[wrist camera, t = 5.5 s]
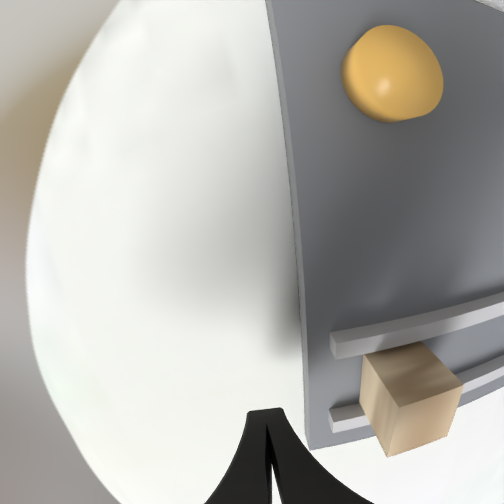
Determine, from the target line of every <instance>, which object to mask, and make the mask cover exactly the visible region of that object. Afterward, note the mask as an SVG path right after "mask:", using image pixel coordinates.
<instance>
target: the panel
mask: <svg viewBox="0 0 504 504" xmlns="http://www.w3.org/2000/svg"><path fill="white" fill-rule="evenodd" d="M265 2H266V8H267V14H268V20H269V26H270V33H271V39H272V46H273V53H274V59H275V66H276V73H277V81H278V88H279V96H280V103H281V111H282V119H283V128H284V136H285V145H286V154H287V163H288V172H289V182H290V192H291V202H292V213H293V224H294V236H295V248H296V261H297V274H298V288H299V303H300V320H301V338H302V358H303V382H304V413H305V435H306V439H307V443H308V447H309V450H315V449H320V448H325V447H330V446H335V445H340V444H344V443H349V442H353V441H357V440H361V439H365V438H369V437H373V436H376V434H375V432H374V430H373V428H372V426H371V424H370V422H369V420H368V418H367V416H366V414H365V412H364V410H363V408H362V406H361V404H360V402H359V398H360V388H361V376H362V362H363V354H367V353H372V352H376V351H381V350H385V349H389V348H393V347H398V346H402V345H406V344H410V343H414V342H417V341H422V342H423V343H424V344H425V345H426V346H427V347H428V348H429V349H430V350H431V351H432V352H433V353H434V354H435V355H436V356H437V357H438V358H439V359H440V360H441V361H442V363H443V364H444V365H445V366H446V367H447V368H448V369H449V370H450V371H451V372H452V373H453V374H454V375H455V376H456V377H457V378H458V379H459V380H460V381H461V382H462V383H463V384H464V387H463V390H462V393H461V397H460V400H459V403H458V406H457V408H458V407H460V406H463V405H465V404H467V403H470V402H472V401H474V400H476V399H479V398H481V397H483V396H485V395H487V394H489V393H491V392H493V391H495V390H497V389H499V388H501V387H503V386H504V13H503V12H501V11H498V10H496V9H494V8H492V7H489V6H487V5H485V4H482V3H480V2H477V1H475V0H265ZM381 25H394V26H398V27H401V28H404V29H407V30H409V31H411V32H412V33H414V34H415V35H417V36H418V37H419V38H421V39H422V40H423V41H424V42H425V43H426V44H427V45H428V46H429V48H430V49H431V50H432V52H433V53H434V55H435V56H436V58H437V60H438V62H439V65H440V67H441V71H442V75H443V93H442V97H441V99H440V101H439V103H438V105H437V106H436V107H435V108H434V109H433V110H432V111H431V112H429V113H428V114H425V115H423V116H419V117H415V118H411V119H407V120H403V121H400V122H395V123H385V122H380V121H377V120H374V119H372V118H370V117H368V116H367V115H365V114H364V113H362V112H361V111H360V110H359V109H358V108H357V107H356V106H355V105H354V104H353V103H352V102H351V100H350V99H349V97H348V96H347V94H346V92H345V90H344V87H343V84H342V80H341V65H342V61H343V58H344V56H345V54H346V53H347V52H348V50H349V49H350V48H351V47H352V46H353V45H354V44H355V43H356V42H357V41H358V40H359V39H360V38H361V37H362V36H363V35H364V34H365V33H366V32H368V31H369V30H370V29H372V28H374V27H377V26H381Z"/></svg>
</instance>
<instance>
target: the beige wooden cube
mask: <svg viewBox="0 0 504 504" xmlns="http://www.w3.org/2000/svg"><path fill="white" fill-rule="evenodd" d="M463 387H464V384H463V383H462V382H461V381H460V380H459V379H458V378H457V377H456V376H455V375H454V374H453V373H452V372H451V371H450V370H449V369H448V368H447V367H446V366H445V365H444V364H443V363H442V361H441V360H440V359H439V358H438V357H437V356H436V355H435V354H434V353H433V352H432V351H431V350H430V349H429V348H428V347H427V346H426V345H425V344H424V343H423V342H422V341H417V342H414V343H410V344H406V345H402V346H398V347H393V348H389V349H385V350H381V351H376V352H372V353H367V354H363V362H362V376H361V388H360V398H359V402H360V404H361V406H362V408H363V410H364V412H365V414H366V416H367V418H368V420H369V422H370V424H371V426H372V428H373V430H374V432H375V434H376V436H377V438H378V440H379V442H380V444H381V446H382V448H383V451H384V453H385V455H386V457H390V456H394V455H397V454H400V453H403V452H406V451H409V450H412V449H415V448H417V447H420V446H423V445H425V444H428V443H431V442H433V441H436V440H438V439H441V438H443V437H446V436H447V434H448V432H449V429H450V426H451V423H452V421H453V418H454V415H455V412H456V409H457V406H458V403H459V400H460V397H461V393H462V390H463Z"/></svg>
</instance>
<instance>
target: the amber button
mask: <svg viewBox="0 0 504 504" xmlns="http://www.w3.org/2000/svg"><path fill="white" fill-rule="evenodd" d="M341 80H342V84H343V87H344V90H345V92H346V94H347V96H348V97H349V99H350V100H351V102H352V103H353V104H354V105H355V106H356V107H357V108H358V109H359V110H360V111H361V112H362V113H364V114H365V115H367V116H368V117H370V118H372V119H374V120H377V121H380V122H385V123H395V122H400V121H403V120H407V119H411V118H415V117H419V116H423V115H425V114H428V113H429V112H431V111H432V110H433V109H434V108H435V107H436V106H437V105H438V103H439V101H440V99H441V97H442V93H443V75H442V71H441V67H440V65H439V62H438V60H437V58H436V56H435V55H434V53H433V52H432V50H431V49H430V48H429V46H428V45H427V44H426V43H425V42H424V41H423V40H422V39H421V38H419V37H418V36H417V35H415V34H414V33H412V32H411V31H409V30H407V29H404V28H401V27H398V26H394V25H381V26H377V27H374V28H372V29H370V30H369V31H368V32H366V33H365V34H364V35H363V36H362V37H361V38H360V39H359V40H358V41H357V42H356V43H355V44H354V45H353V46H352V47H351V48H350V49H349V50H348V52H347V53H346V54H345V56H344V58H343V61H342V65H341Z"/></svg>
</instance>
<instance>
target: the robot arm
mask: <svg viewBox="0 0 504 504" xmlns="http://www.w3.org/2000/svg"><path fill="white" fill-rule="evenodd" d="M272 466H273V470H274V474H275V478H276V483H277V487H278V490H279V494H280V498H281V502H282V504H374V503H372V502H370V501H368V500H366V499H365V498H363V497H361V496H360V495H358V494H357V493H355V492H353V491H352V490H351V489H349V488H348V487H347V486H345V485H344V484H343V483H341V482H340V481H339V480H337V479H336V478H335V477H334V476H333V475H331V474H330V473H329V472H328V471H327V470H326V469H325V468H324V467H323V466H322V465H321V464H320V463H319V462H318V461H317V460H316V459H315V458H314V457H313V456H312V454H311V453H310V452H309V451H308V450H307V448H306V447H305V446H304V445H303V443H302V442H301V440H300V439H299V438H298V436H297V435H296V433H295V432H294V430H293V429H292V427H291V425H290V423H289V422H288V420H287V418H286V416H285V413H284V411H283V409H282V408H280V407H279V408H272V409H264V410H255V411H249V412H248V413H247V418H246V424H245V428H244V431H243V435H242V438H241V440H240V443H239V446H238V448H237V451H236V453H235V455H234V458H233V460H232V462H231V464H230V466H229V468H228V470H227V472H226V473H225V475H224V477H223V478H222V480H221V482H220V483H219V485H218V486H217V488H216V489H215V491H214V492H213V493H212V495H211V496H210V497H209V499H208V500H207V501H206V502H205V504H272Z"/></svg>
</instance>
